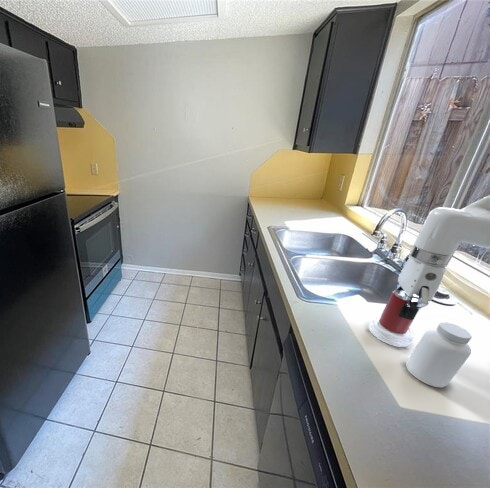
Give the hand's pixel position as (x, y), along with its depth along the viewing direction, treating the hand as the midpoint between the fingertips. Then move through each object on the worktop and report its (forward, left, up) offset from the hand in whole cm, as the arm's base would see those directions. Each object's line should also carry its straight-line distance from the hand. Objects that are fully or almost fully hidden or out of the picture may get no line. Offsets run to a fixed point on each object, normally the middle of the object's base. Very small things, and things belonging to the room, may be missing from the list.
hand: (400, 309), depth 74 cm
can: (0, 0, -6) cm, 6 cm away
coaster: (0, 0, -10) cm, 10 cm away
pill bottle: (-5, +13, -10) cm, 17 cm away
